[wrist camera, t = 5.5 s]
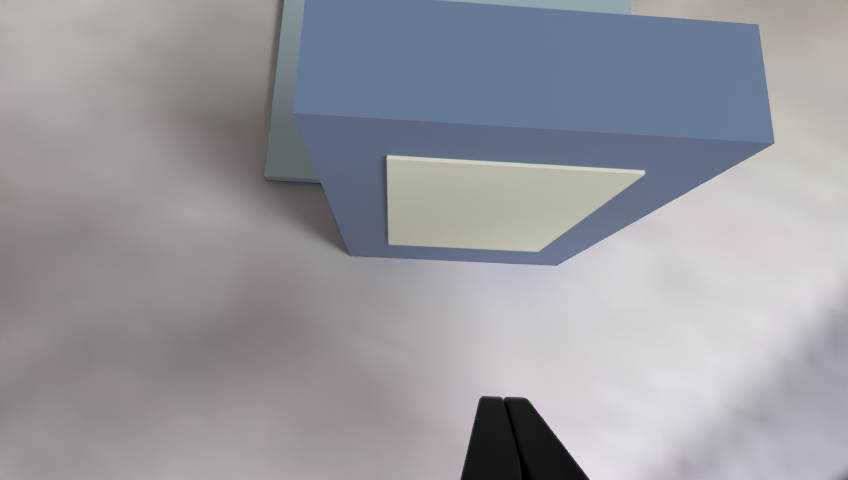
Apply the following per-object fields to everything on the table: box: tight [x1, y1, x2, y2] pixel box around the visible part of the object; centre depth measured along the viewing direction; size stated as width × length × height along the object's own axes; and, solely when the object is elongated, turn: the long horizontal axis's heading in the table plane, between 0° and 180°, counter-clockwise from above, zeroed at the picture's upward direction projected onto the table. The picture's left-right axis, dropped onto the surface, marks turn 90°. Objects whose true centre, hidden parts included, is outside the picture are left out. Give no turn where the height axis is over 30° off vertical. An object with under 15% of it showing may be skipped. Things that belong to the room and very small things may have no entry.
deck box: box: [293, 0, 774, 266], centre depth 12 cm, size 2×7×10 cm, turn 88°
